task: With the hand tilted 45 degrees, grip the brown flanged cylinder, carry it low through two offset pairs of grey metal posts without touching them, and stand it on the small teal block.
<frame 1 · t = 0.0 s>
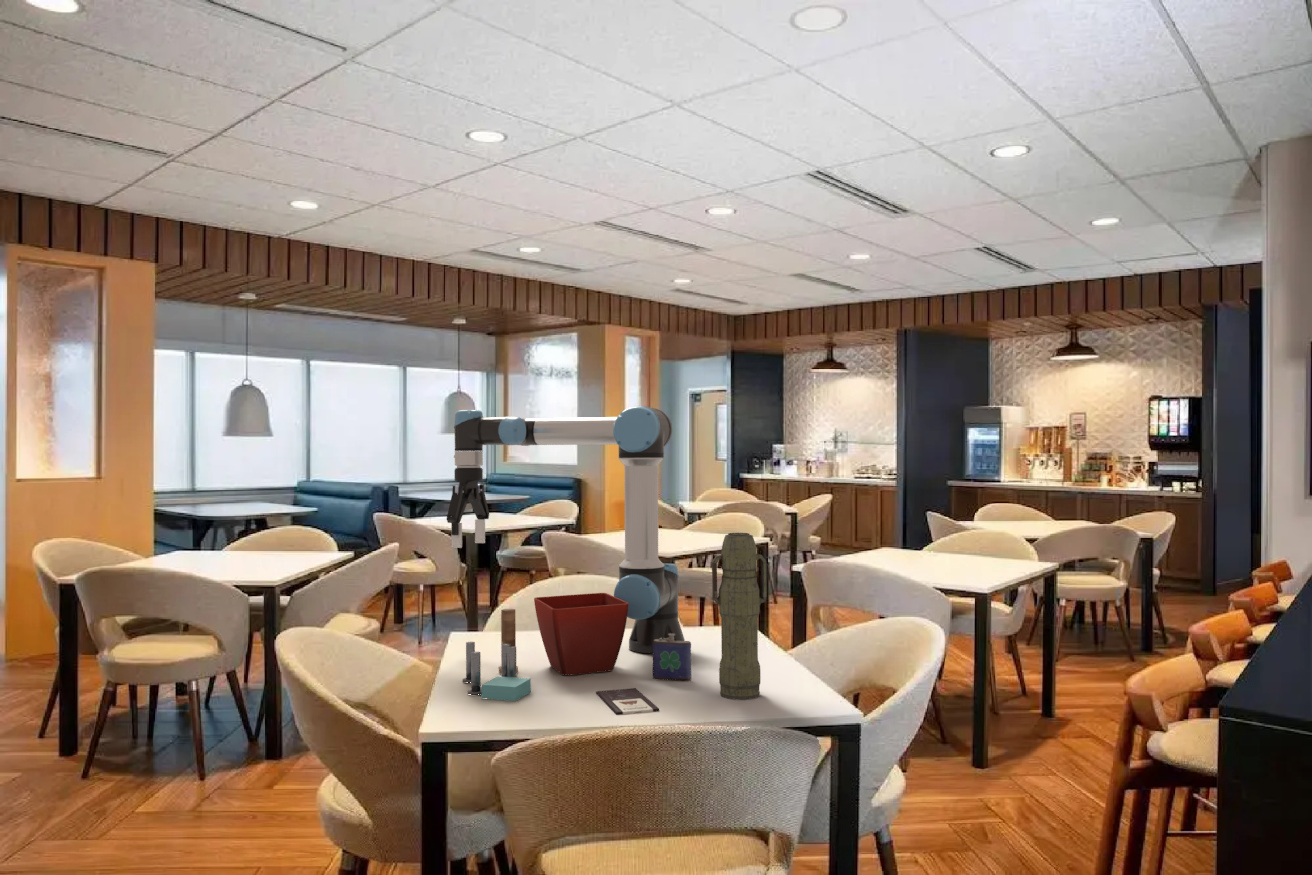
hand: (468, 545, 257), 28 cm above the table, tool pointing down, fingers open, 13 cm apart
flask: (671, 680, 221), on the table
brown flanged cylinder: (508, 672, 229), on the table
chocolate bar: (626, 704, 201), on the table
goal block: (506, 695, 207), on the table
plant pot: (580, 669, 232), on the table
post course: (488, 682, 218), on the table
thermos: (739, 695, 206), on the table
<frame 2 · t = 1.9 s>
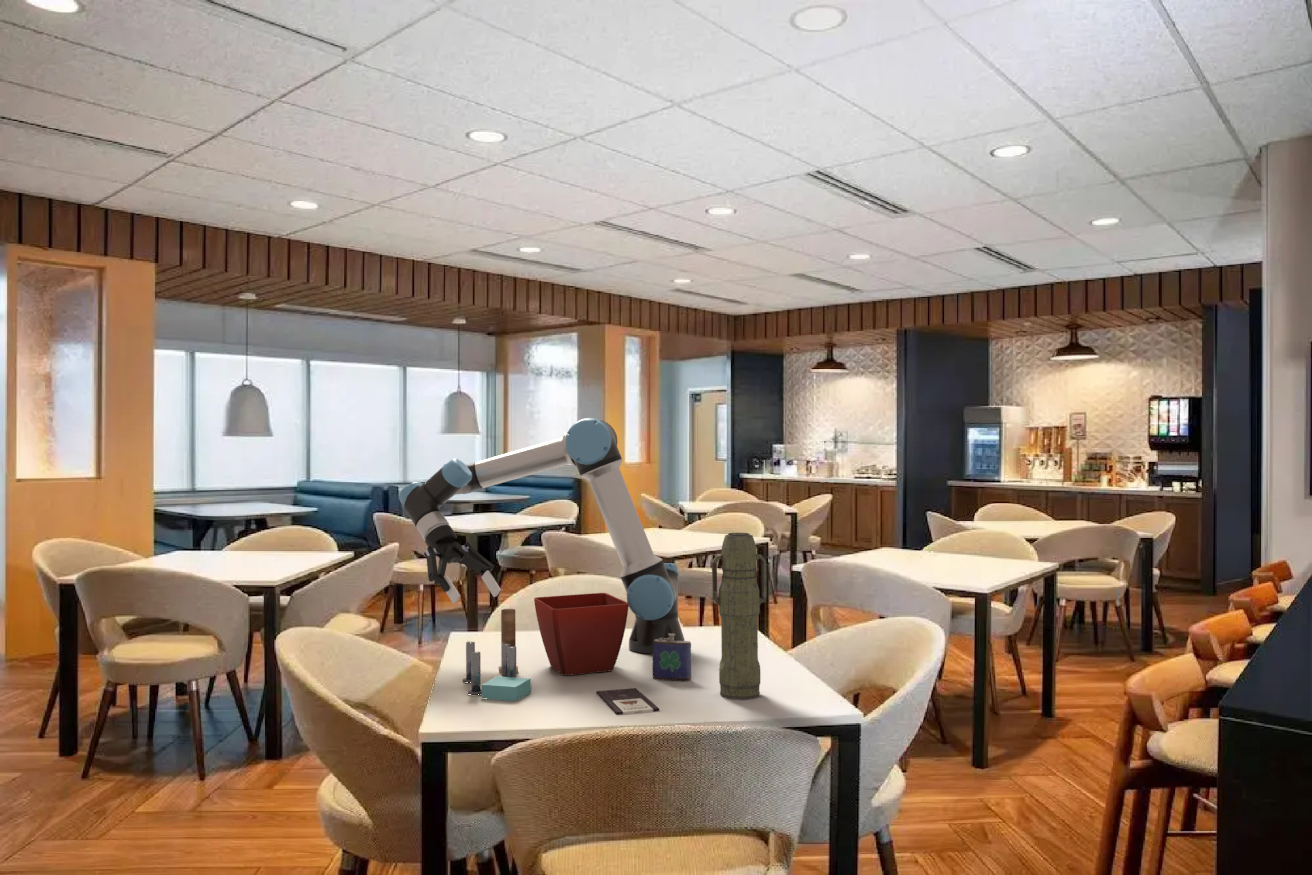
hand: (477, 596, 236), 17 cm above the table, tool tilted 45°, fingers open, 13 cm apart
nothing on the table moved.
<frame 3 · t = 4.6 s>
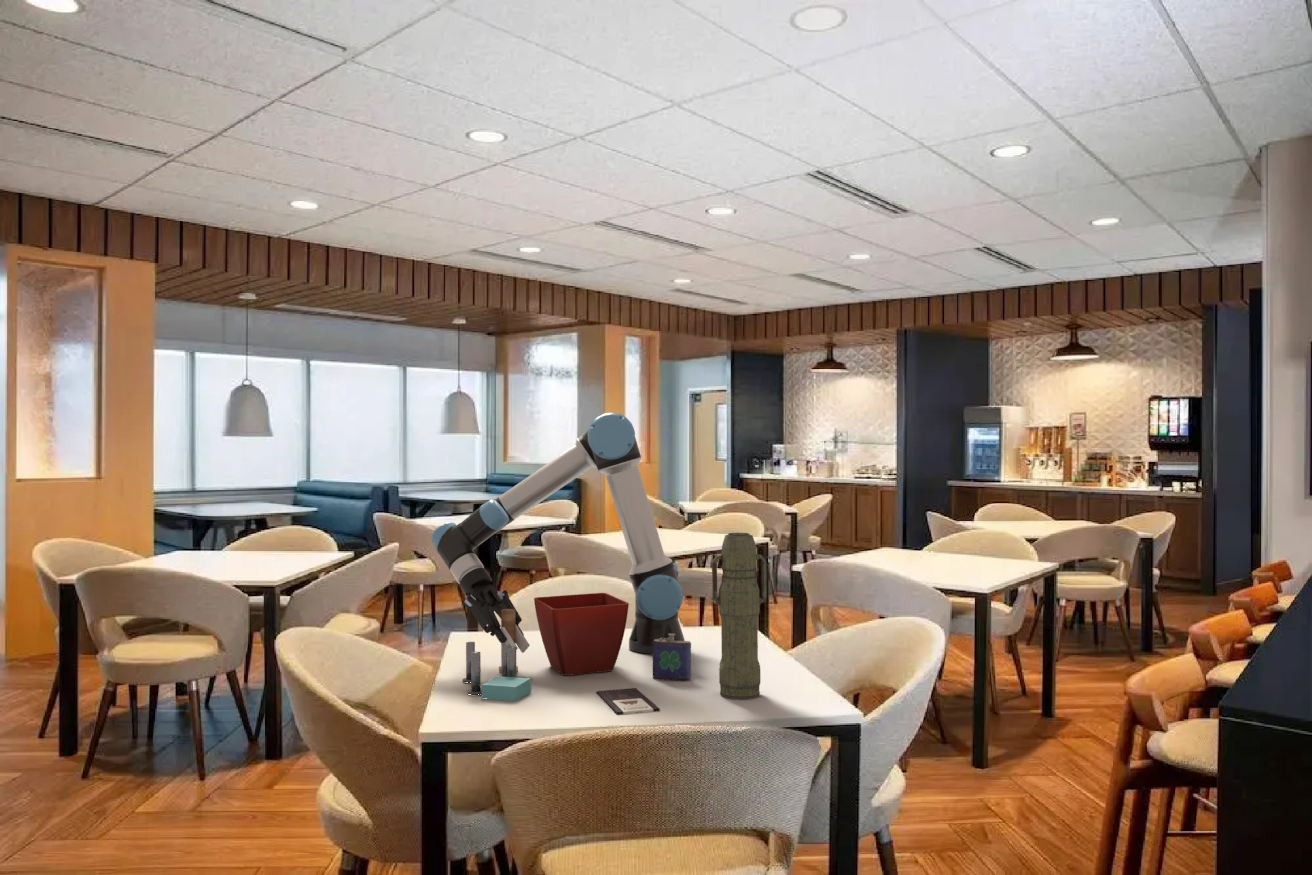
hand: (519, 650, 227), 6 cm above the table, tool tilted 45°, fingers closed on brown flanged cylinder, 3 cm apart
brown flanged cylinder: (508, 672, 229), on the table, touching gripper
everything else where it was.
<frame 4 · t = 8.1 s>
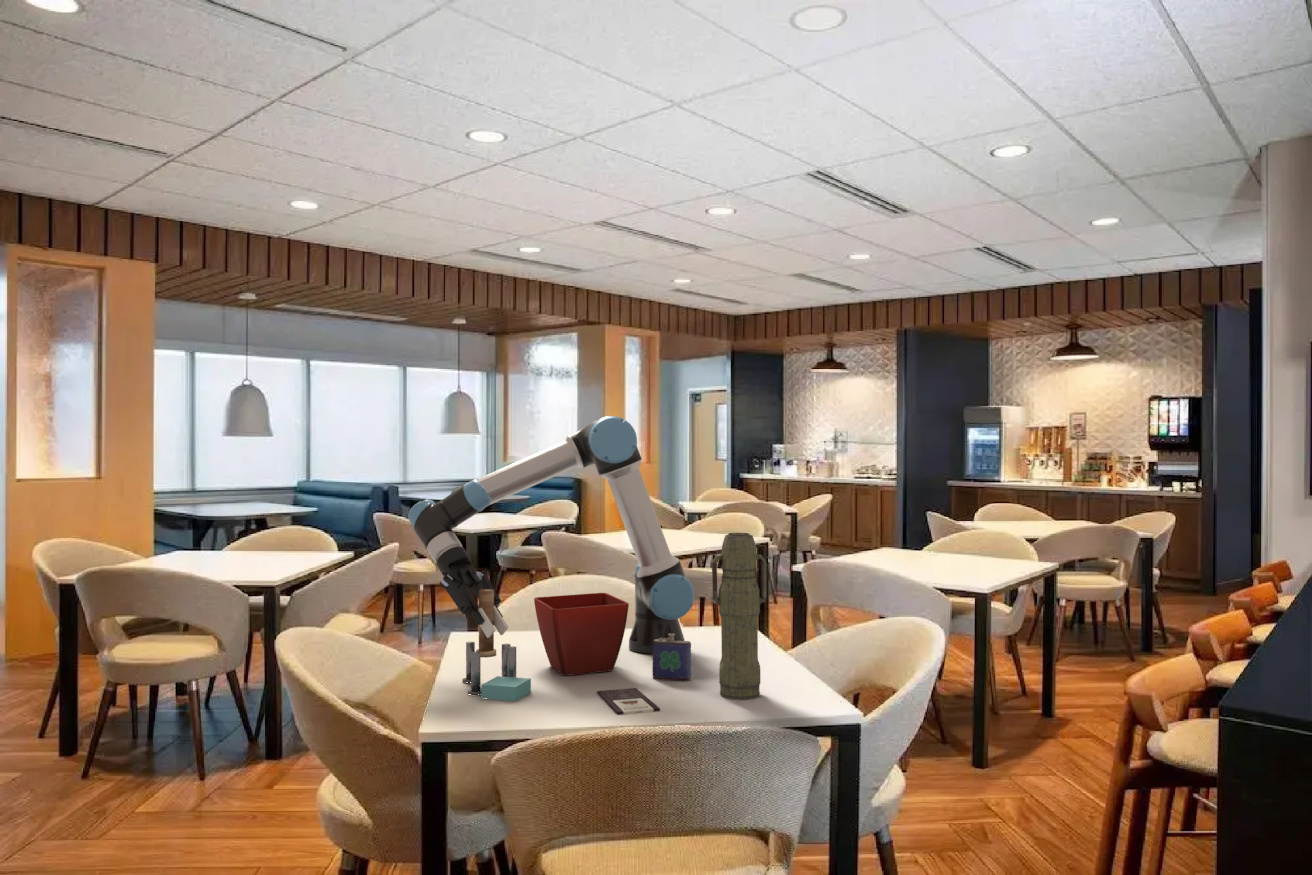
hand: (498, 632, 217), 12 cm above the table, tool tilted 45°, fingers closed on brown flanged cylinder, 3 cm apart
brown flanged cylinder: (486, 655, 219), point 6 cm above the table, touching gripper
everything else where it was.
when the fingers open (10 cm above the table, at t = 11.6 s): brown flanged cylinder drops 1 cm, resting on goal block.
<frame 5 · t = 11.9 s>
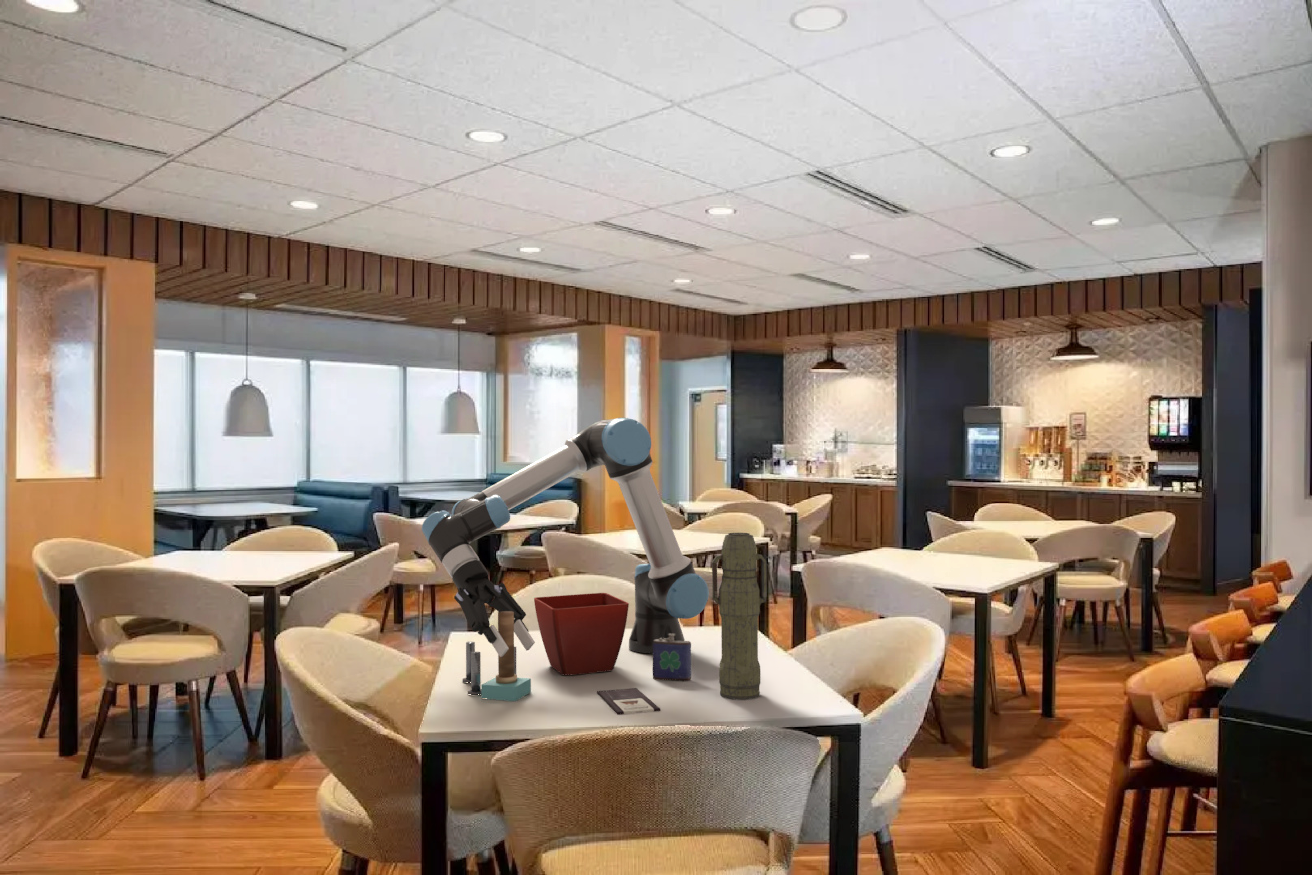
hand: (517, 649, 205), 10 cm above the table, tool tilted 45°, fingers open, 7 cm apart
brown flanged cylinder: (506, 681, 207), point 3 cm above the table, touching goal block
everything else where it was.
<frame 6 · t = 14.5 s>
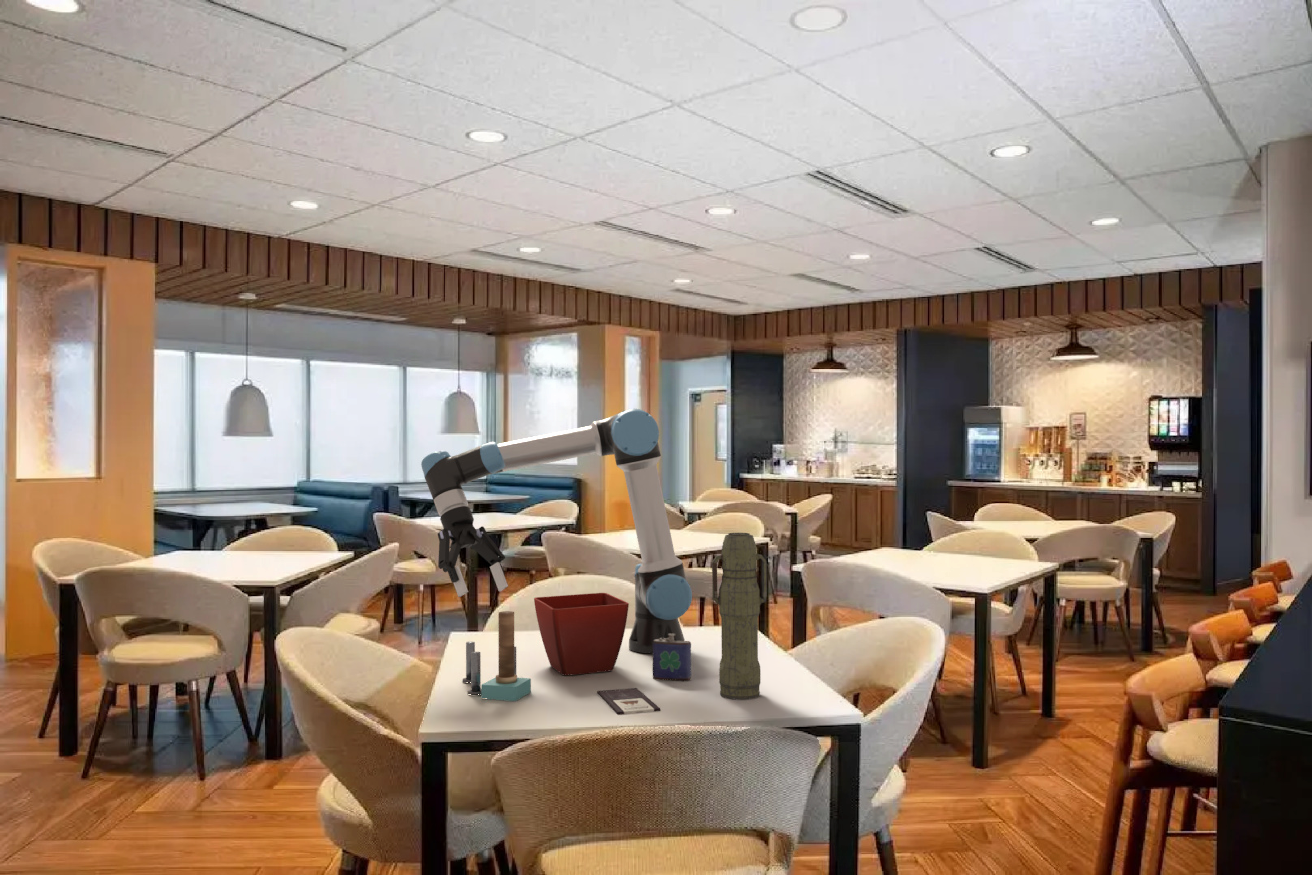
hand: (484, 591, 225), 20 cm above the table, tool tilted 30°, fingers open, 13 cm apart
nothing on the table moved.
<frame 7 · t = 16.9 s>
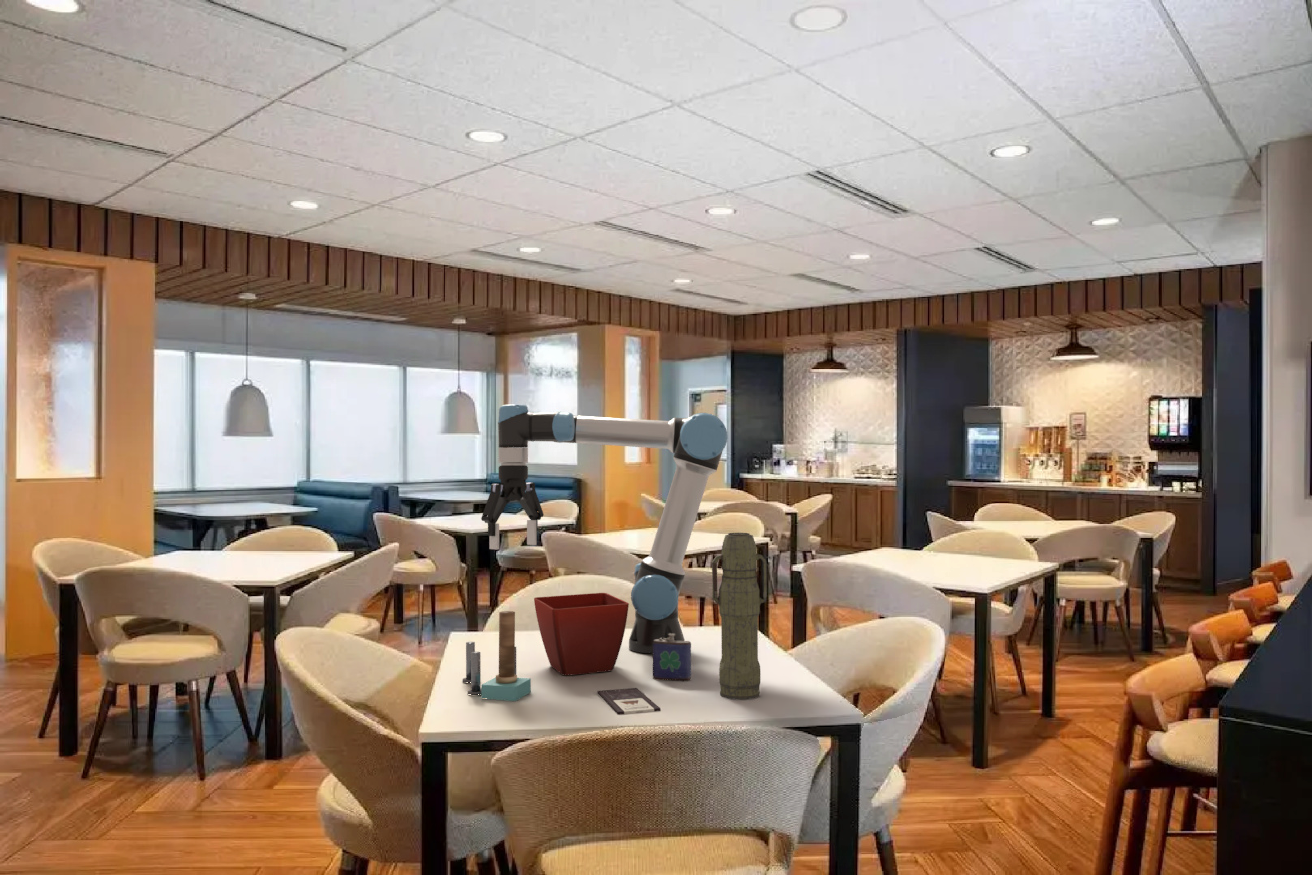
hand: (513, 547, 244), 29 cm above the table, tool pointing down, fingers open, 13 cm apart
nothing on the table moved.
at the end: brown flanged cylinder inside the target area on the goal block (0.1 cm from its centre), point 3.0 cm above the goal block's base; brown flanged cylinder tilted 1°; the gripper is holding nothing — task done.
